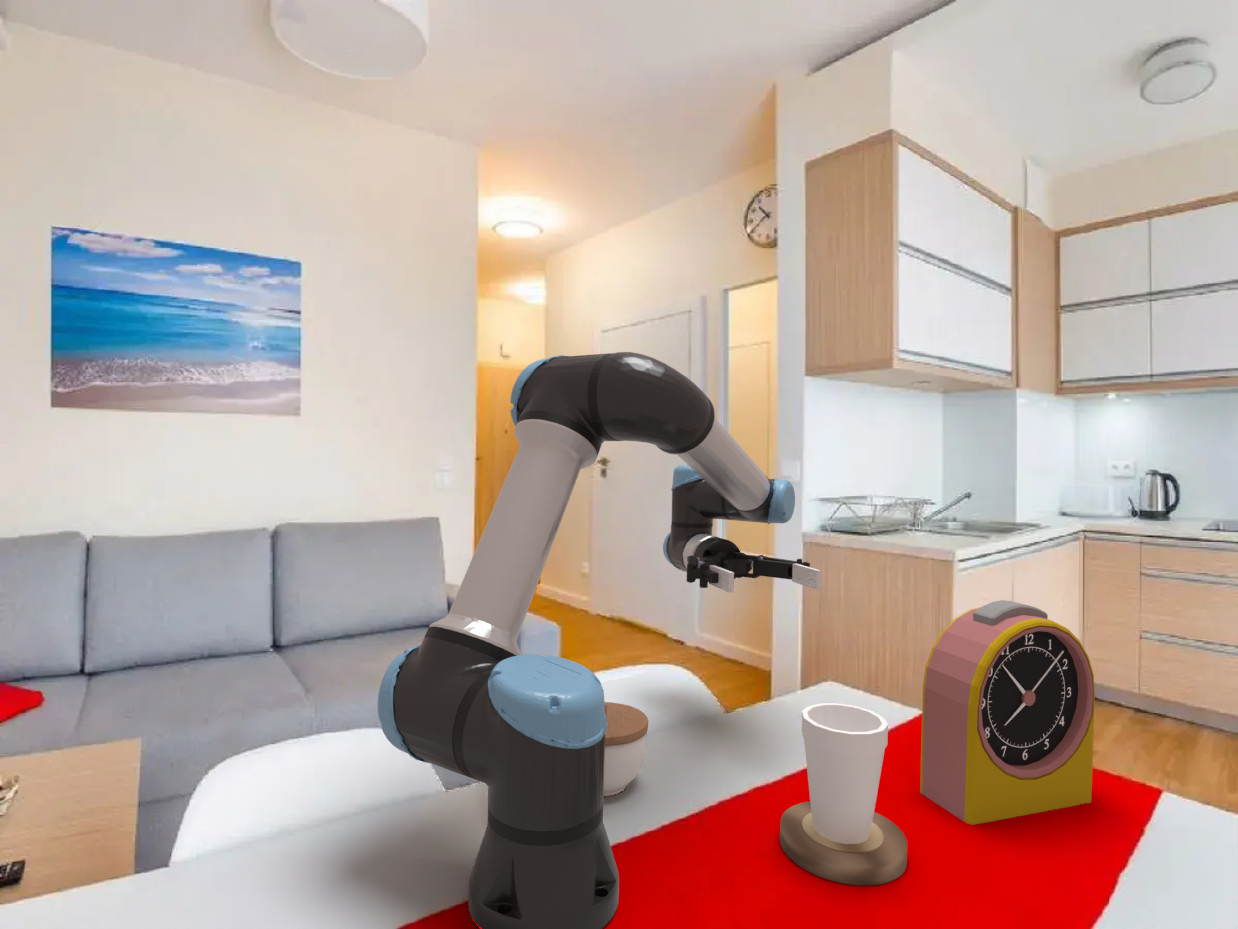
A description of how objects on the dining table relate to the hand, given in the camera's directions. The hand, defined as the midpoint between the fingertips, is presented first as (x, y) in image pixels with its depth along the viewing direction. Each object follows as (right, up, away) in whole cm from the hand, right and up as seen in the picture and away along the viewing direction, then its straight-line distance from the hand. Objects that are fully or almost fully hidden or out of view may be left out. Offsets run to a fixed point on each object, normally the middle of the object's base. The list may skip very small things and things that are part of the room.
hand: (776, 581), depth 96 cm
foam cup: (+4, -26, -16) cm, 31 cm away
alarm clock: (+30, -29, -3) cm, 42 cm away
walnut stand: (+4, -28, -16) cm, 33 cm away
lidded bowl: (-24, -28, -1) cm, 37 cm away
